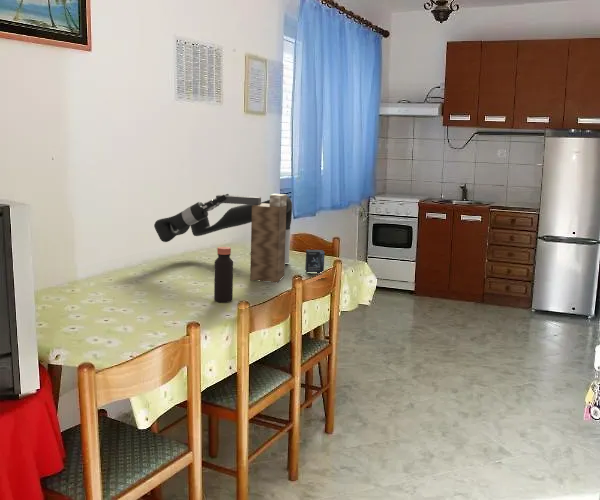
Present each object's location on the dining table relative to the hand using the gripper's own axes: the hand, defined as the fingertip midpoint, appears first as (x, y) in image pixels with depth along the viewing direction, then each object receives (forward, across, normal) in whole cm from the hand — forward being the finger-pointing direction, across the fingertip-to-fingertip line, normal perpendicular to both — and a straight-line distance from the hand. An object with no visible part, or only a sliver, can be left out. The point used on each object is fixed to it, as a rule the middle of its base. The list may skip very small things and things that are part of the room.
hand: (227, 196), depth 275 cm
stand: (-1, 0, +40) cm, 40 cm away
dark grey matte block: (+3, 0, +5) cm, 6 cm away
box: (+14, +18, +48) cm, 54 cm away
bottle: (-6, -42, +37) cm, 56 cm away
